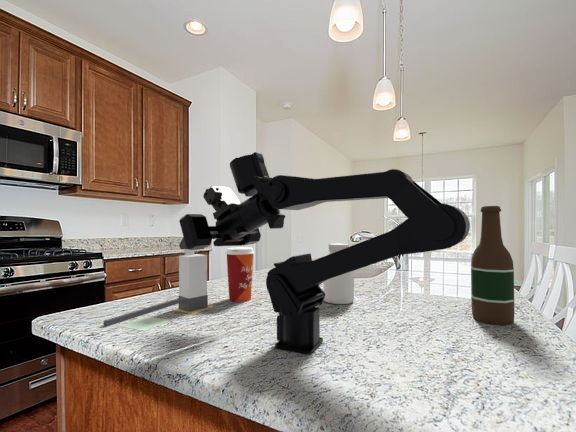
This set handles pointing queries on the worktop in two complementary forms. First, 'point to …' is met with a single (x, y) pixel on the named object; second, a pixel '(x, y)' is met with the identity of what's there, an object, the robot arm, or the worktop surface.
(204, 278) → the plug
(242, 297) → the paper cup
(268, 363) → the worktop surface
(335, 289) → the pill bottle
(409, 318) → the worktop surface
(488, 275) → the beer bottle
